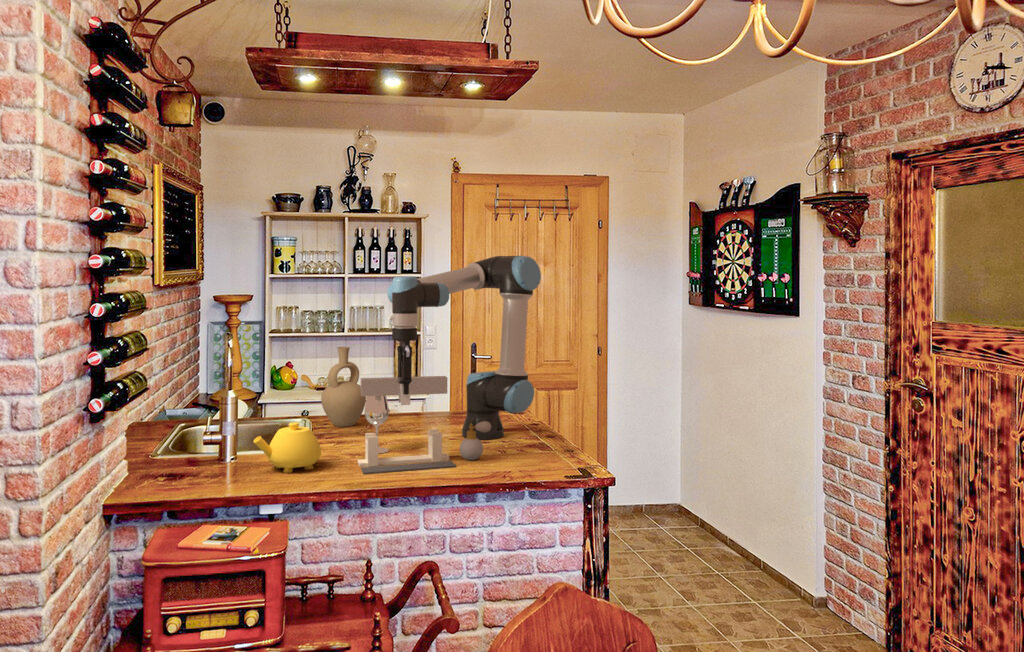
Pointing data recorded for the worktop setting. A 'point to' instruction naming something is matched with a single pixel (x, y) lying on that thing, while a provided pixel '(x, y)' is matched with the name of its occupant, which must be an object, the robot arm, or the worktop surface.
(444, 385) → the rail
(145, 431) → the worktop surface
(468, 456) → the perfume bottle
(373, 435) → the rack
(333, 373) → the vase
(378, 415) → the wineglass
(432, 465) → the mat
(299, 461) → the teapot
